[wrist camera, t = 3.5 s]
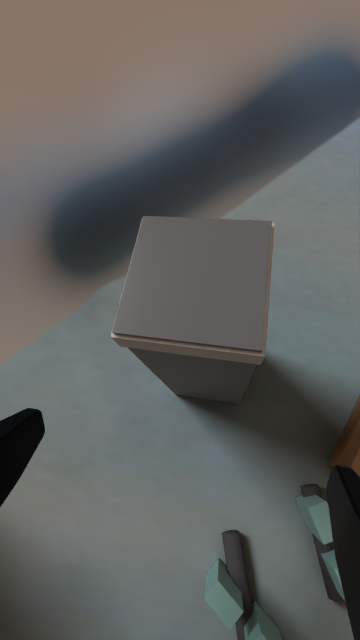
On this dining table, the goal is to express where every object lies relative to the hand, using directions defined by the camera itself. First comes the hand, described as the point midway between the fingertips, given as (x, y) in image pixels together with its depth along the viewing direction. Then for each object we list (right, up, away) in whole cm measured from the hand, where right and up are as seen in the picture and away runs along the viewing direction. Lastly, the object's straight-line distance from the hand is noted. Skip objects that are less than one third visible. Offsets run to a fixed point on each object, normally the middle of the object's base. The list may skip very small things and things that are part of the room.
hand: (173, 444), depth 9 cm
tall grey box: (+2, 0, +12) cm, 13 cm away
